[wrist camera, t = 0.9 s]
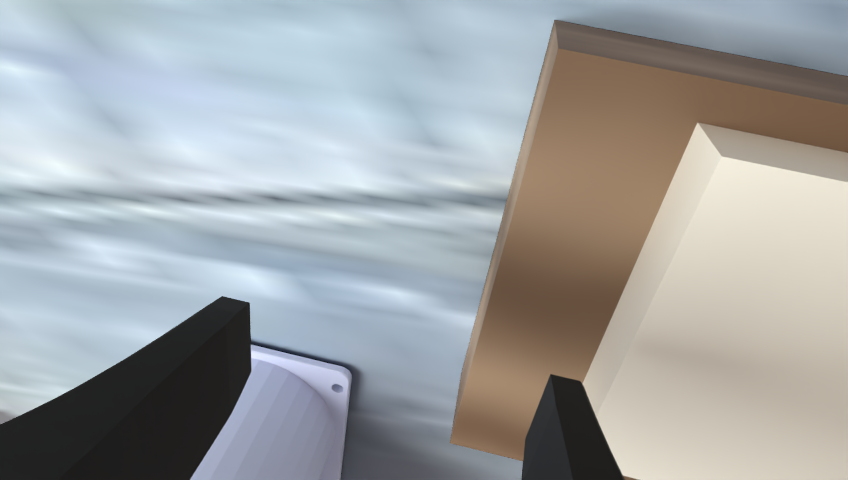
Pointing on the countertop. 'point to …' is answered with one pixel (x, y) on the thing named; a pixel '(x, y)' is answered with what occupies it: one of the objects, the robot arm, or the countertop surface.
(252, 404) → the robot arm
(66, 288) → the countertop surface
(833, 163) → the block
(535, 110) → the board
